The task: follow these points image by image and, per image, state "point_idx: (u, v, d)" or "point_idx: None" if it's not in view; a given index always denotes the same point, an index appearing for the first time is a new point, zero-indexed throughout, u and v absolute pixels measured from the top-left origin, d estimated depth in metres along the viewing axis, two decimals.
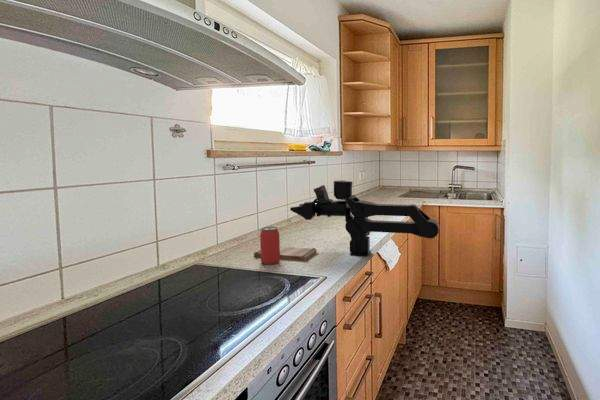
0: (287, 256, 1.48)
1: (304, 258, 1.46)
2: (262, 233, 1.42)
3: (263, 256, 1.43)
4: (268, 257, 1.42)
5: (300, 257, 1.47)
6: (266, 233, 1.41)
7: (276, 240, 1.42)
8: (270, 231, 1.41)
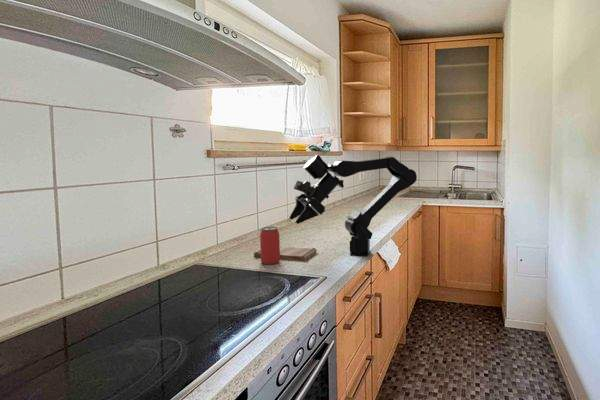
0: (287, 256, 1.48)
1: (304, 258, 1.46)
2: (262, 233, 1.42)
3: (263, 256, 1.43)
4: (268, 257, 1.42)
5: (300, 257, 1.47)
6: (266, 233, 1.41)
7: (276, 240, 1.42)
8: (270, 231, 1.41)
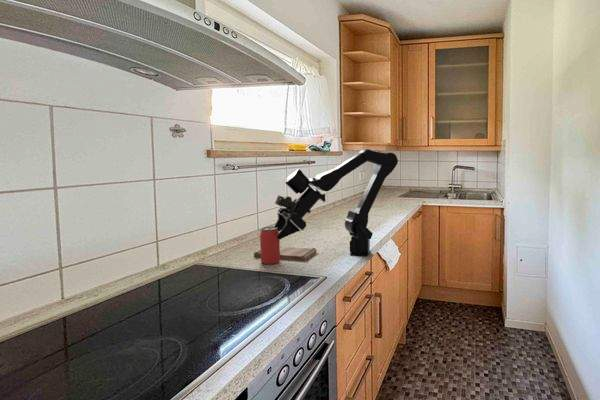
0: (287, 256, 1.48)
1: (304, 258, 1.46)
2: (262, 233, 1.42)
3: (263, 256, 1.43)
4: (268, 257, 1.42)
5: (300, 257, 1.47)
6: (266, 233, 1.41)
7: (276, 240, 1.42)
8: (270, 231, 1.41)
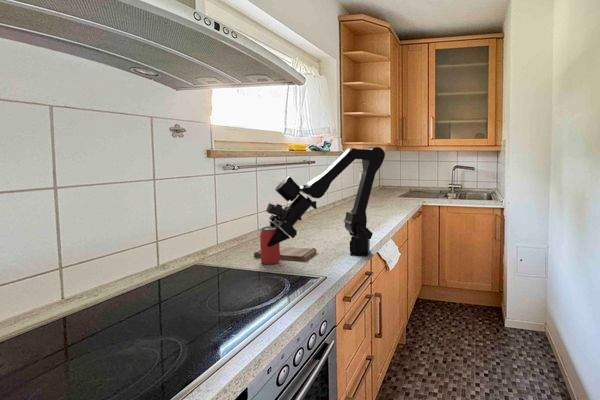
0: (287, 256, 1.48)
1: (304, 258, 1.46)
2: (262, 233, 1.42)
3: (263, 256, 1.43)
4: (268, 257, 1.42)
5: (300, 257, 1.47)
6: (266, 233, 1.41)
7: None
8: (270, 231, 1.41)
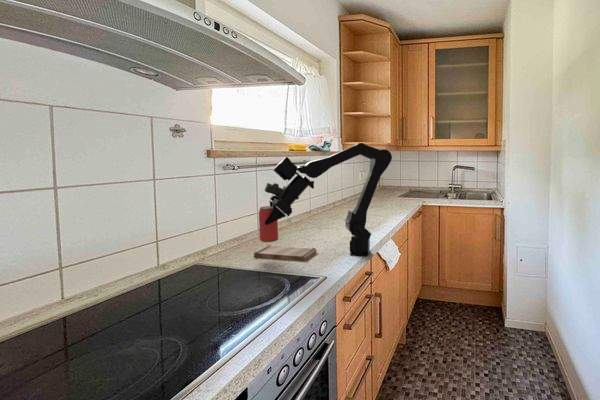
0: (287, 256, 1.48)
1: (304, 258, 1.46)
2: (260, 211, 1.47)
3: (261, 234, 1.47)
4: (265, 235, 1.46)
5: (300, 257, 1.47)
6: (263, 212, 1.46)
7: None
8: (267, 210, 1.45)
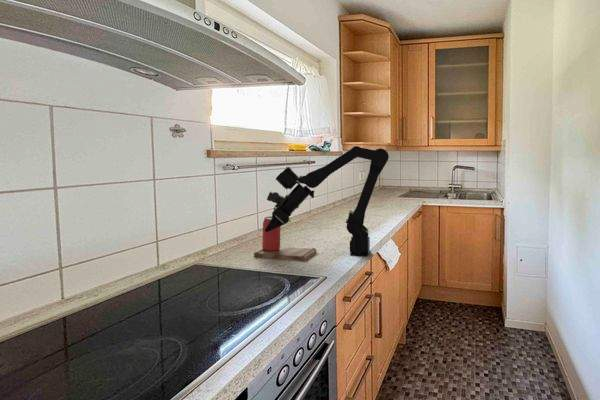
0: (287, 256, 1.48)
1: (304, 258, 1.46)
2: (263, 221, 1.54)
3: (263, 243, 1.55)
4: (267, 244, 1.54)
5: (300, 257, 1.47)
6: (267, 222, 1.53)
7: (276, 229, 1.53)
8: (270, 220, 1.53)
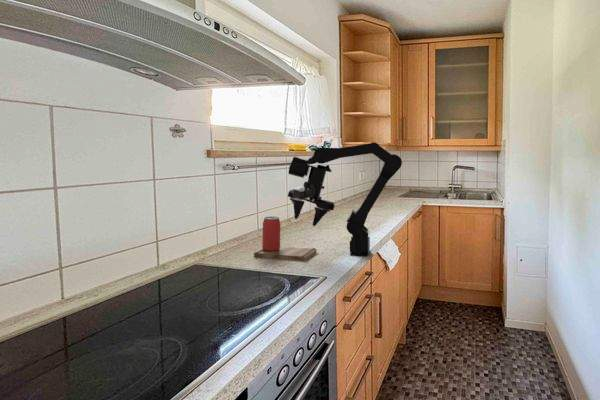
0: (287, 256, 1.48)
1: (304, 258, 1.46)
2: (263, 221, 1.55)
3: (263, 243, 1.55)
4: (267, 244, 1.54)
5: (300, 257, 1.47)
6: (266, 222, 1.53)
7: (275, 229, 1.53)
8: (270, 220, 1.53)
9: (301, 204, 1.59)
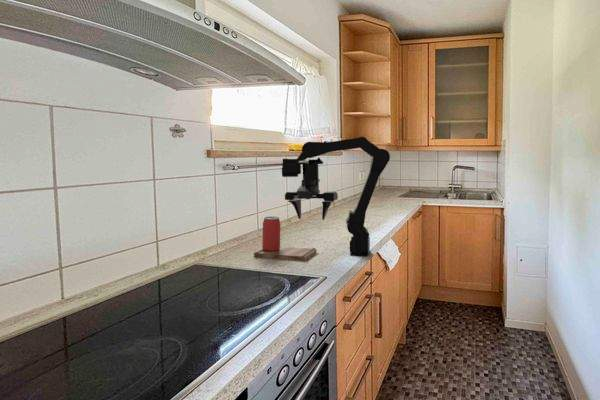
0: (287, 256, 1.48)
1: (304, 258, 1.46)
2: (263, 221, 1.55)
3: (263, 243, 1.55)
4: (267, 244, 1.54)
5: (300, 257, 1.47)
6: (266, 222, 1.53)
7: (275, 229, 1.53)
8: (270, 220, 1.53)
9: (299, 203, 1.57)
